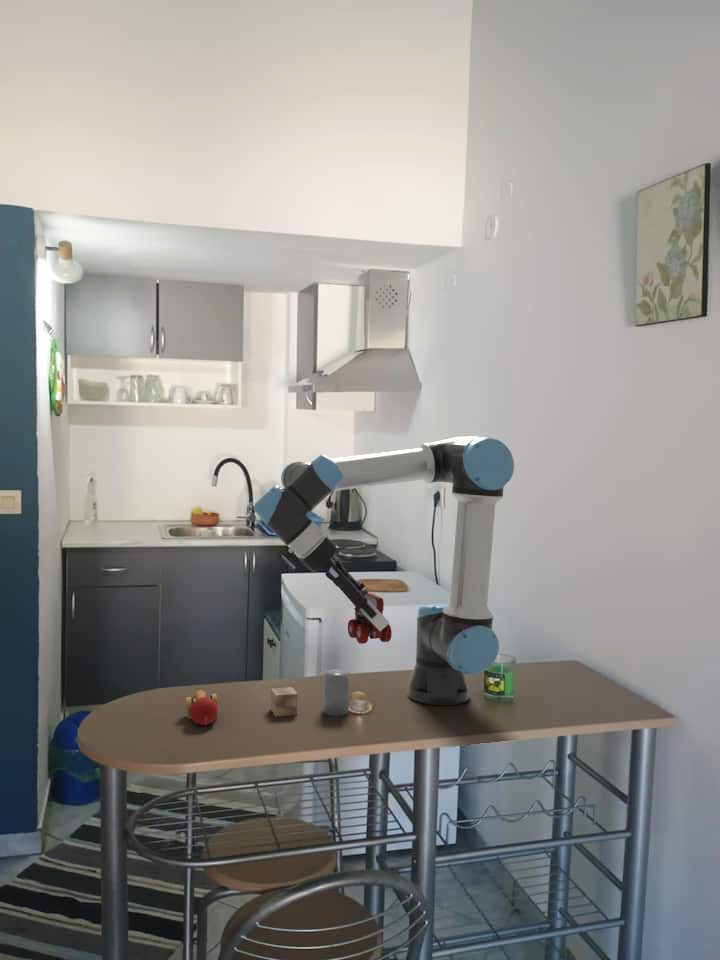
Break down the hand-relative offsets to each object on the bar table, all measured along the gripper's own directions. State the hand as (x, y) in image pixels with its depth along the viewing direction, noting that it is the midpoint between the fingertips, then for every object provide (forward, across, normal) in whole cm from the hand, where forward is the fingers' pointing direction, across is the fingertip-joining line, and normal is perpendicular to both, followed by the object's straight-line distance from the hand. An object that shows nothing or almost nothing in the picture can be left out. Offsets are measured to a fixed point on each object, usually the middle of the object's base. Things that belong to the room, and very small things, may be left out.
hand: (381, 620), depth 181 cm
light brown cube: (+3, -11, -32) cm, 34 cm away
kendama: (-10, -9, -45) cm, 47 cm away
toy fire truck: (+1, 0, -5) cm, 5 cm away
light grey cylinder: (+11, -12, -23) cm, 28 cm away
